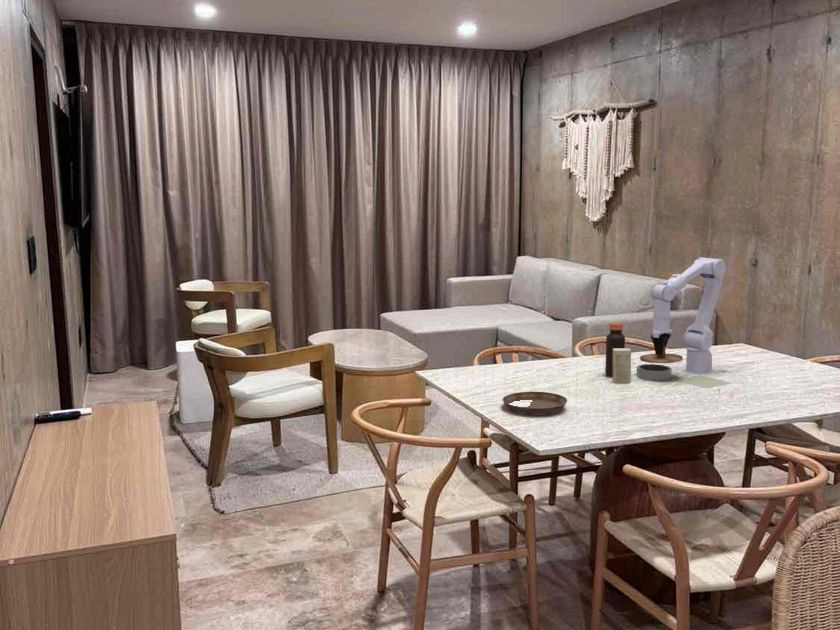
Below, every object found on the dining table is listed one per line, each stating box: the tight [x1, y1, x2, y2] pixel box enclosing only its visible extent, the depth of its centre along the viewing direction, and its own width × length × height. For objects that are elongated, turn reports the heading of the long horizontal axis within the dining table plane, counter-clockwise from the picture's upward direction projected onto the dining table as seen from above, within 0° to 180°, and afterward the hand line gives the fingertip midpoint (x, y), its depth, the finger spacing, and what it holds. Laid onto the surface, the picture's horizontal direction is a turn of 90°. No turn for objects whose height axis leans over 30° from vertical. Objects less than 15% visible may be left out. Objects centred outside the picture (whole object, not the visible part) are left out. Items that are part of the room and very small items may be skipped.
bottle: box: [604, 321, 626, 378], centre depth 294 cm, size 7×7×20 cm
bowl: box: [635, 363, 673, 382], centre depth 291 cm, size 12×12×4 cm
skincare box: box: [611, 347, 632, 384], centre depth 285 cm, size 6×4×12 cm
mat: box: [674, 374, 732, 389], centre depth 283 cm, size 14×14×1 cm
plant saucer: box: [502, 391, 568, 416], centre depth 252 cm, size 21×21×3 cm
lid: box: [639, 345, 683, 364], centre depth 288 cm, size 15×15×5 cm
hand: (660, 353), depth 288 cm, fingers closed on lid, 3 cm apart
